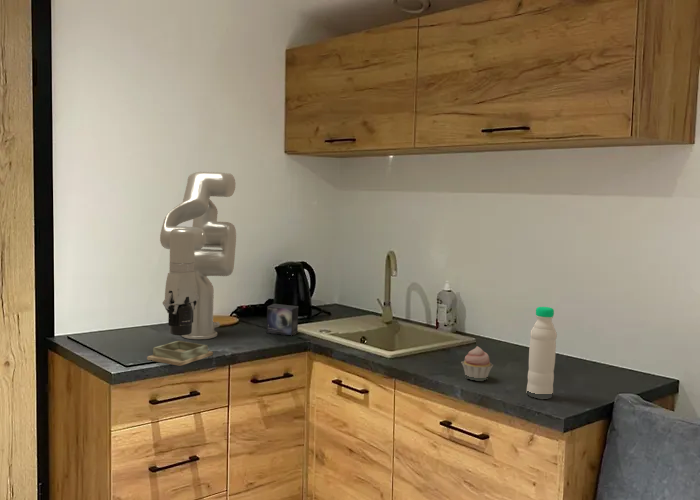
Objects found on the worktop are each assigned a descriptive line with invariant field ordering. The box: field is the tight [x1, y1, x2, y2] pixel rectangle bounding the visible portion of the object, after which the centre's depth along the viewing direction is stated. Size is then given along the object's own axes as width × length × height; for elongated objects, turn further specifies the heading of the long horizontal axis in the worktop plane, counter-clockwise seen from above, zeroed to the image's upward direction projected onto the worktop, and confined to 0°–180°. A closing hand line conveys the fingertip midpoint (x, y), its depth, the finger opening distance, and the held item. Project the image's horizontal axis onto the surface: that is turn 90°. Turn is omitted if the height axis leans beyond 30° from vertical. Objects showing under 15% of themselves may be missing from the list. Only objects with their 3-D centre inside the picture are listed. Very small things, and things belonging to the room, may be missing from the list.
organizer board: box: [146, 340, 214, 367], centre depth 216 cm, size 16×13×4 cm
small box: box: [266, 303, 299, 337], centre depth 255 cm, size 11×6×10 cm, turn 72°
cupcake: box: [460, 345, 494, 378], centre depth 204 cm, size 9×9×10 cm
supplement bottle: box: [169, 297, 193, 336], centre depth 215 cm, size 7×7×12 cm
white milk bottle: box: [526, 306, 558, 394], centre depth 188 cm, size 7×7×25 cm
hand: (181, 323), depth 215 cm, fingers closed on supplement bottle, 6 cm apart
